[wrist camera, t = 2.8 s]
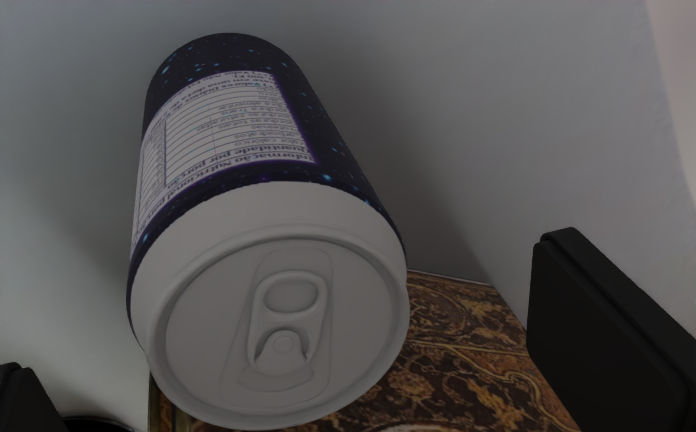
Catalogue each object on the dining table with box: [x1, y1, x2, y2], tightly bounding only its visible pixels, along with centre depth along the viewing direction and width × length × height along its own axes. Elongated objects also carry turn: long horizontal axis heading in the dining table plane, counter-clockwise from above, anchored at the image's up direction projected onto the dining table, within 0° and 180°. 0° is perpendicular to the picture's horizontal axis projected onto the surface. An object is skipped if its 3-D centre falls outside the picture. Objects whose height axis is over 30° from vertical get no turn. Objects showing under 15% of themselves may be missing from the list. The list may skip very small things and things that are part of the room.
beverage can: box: [126, 33, 410, 430], centre depth 16 cm, size 6×6×12 cm
